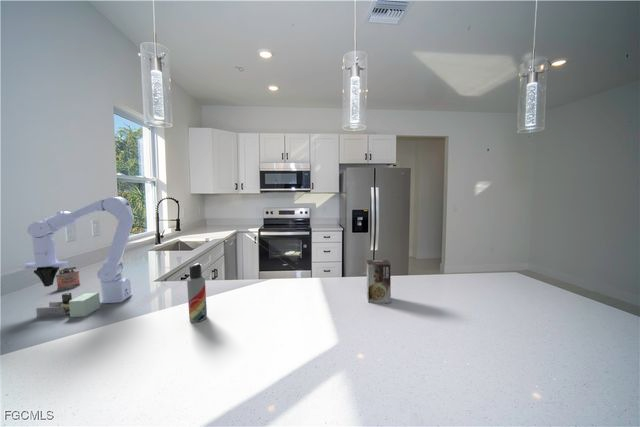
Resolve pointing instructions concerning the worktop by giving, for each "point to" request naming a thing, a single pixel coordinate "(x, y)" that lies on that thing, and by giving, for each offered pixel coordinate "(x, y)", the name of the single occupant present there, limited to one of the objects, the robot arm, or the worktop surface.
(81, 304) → the socket
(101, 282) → the robot arm
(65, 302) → the sliding bolt
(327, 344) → the worktop surface
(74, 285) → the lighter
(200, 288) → the lotion bottle
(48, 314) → the grey u channel
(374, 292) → the coffee box
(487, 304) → the worktop surface
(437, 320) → the worktop surface
